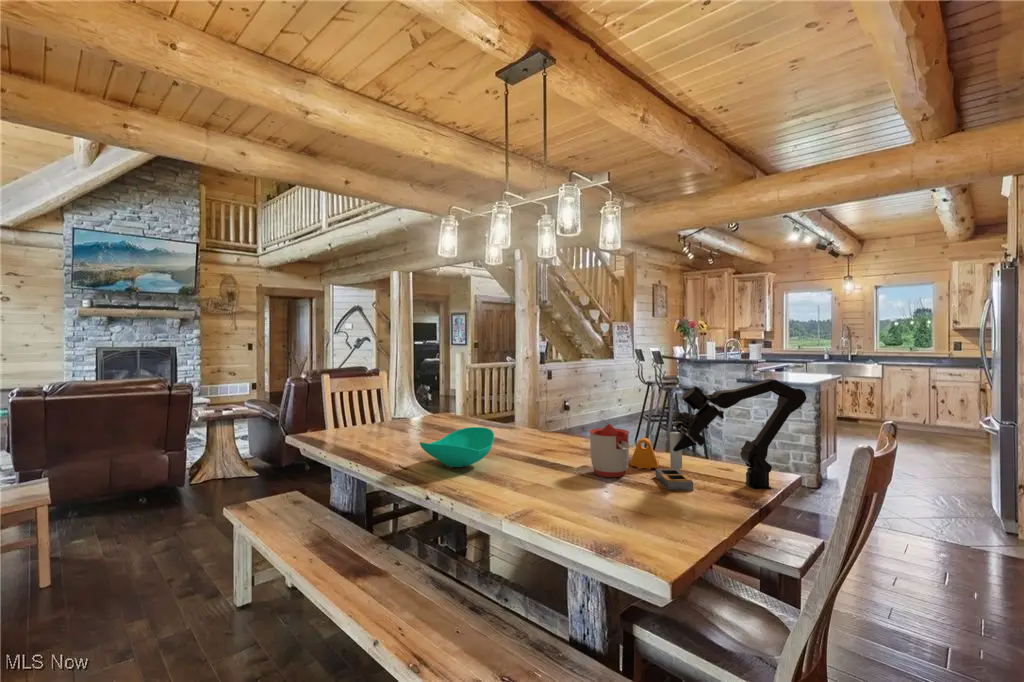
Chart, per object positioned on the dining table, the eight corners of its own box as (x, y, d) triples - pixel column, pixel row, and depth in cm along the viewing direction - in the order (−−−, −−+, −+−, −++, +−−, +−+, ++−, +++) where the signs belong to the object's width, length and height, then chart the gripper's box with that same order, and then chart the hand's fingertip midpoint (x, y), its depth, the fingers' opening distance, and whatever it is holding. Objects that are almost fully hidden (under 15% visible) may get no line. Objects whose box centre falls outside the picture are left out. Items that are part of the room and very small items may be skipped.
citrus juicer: (611, 483, 175) (610, 429, 175) (581, 472, 190) (581, 423, 190) (641, 476, 183) (641, 425, 183) (611, 466, 198) (610, 419, 198)
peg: (678, 465, 173) (677, 431, 173) (684, 468, 169) (683, 433, 169) (668, 466, 172) (667, 432, 172) (674, 469, 169) (673, 434, 169)
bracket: (659, 465, 199) (658, 437, 199) (657, 470, 193) (657, 440, 193) (633, 463, 203) (632, 435, 203) (630, 467, 197) (630, 439, 197)
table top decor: (460, 482, 179) (460, 447, 179) (402, 473, 191) (402, 441, 191) (508, 458, 214) (508, 429, 214) (457, 452, 227) (456, 425, 227)
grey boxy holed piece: (678, 476, 183) (678, 468, 183) (693, 490, 166) (693, 481, 166) (655, 476, 183) (655, 468, 183) (667, 490, 166) (667, 481, 166)
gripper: (678, 399, 180) (649, 429, 181) (695, 406, 161) (662, 439, 162) (699, 420, 180) (671, 449, 180) (718, 429, 161) (686, 461, 162)
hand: (672, 449), depth 171 cm, fingers closed on peg, 4 cm apart
